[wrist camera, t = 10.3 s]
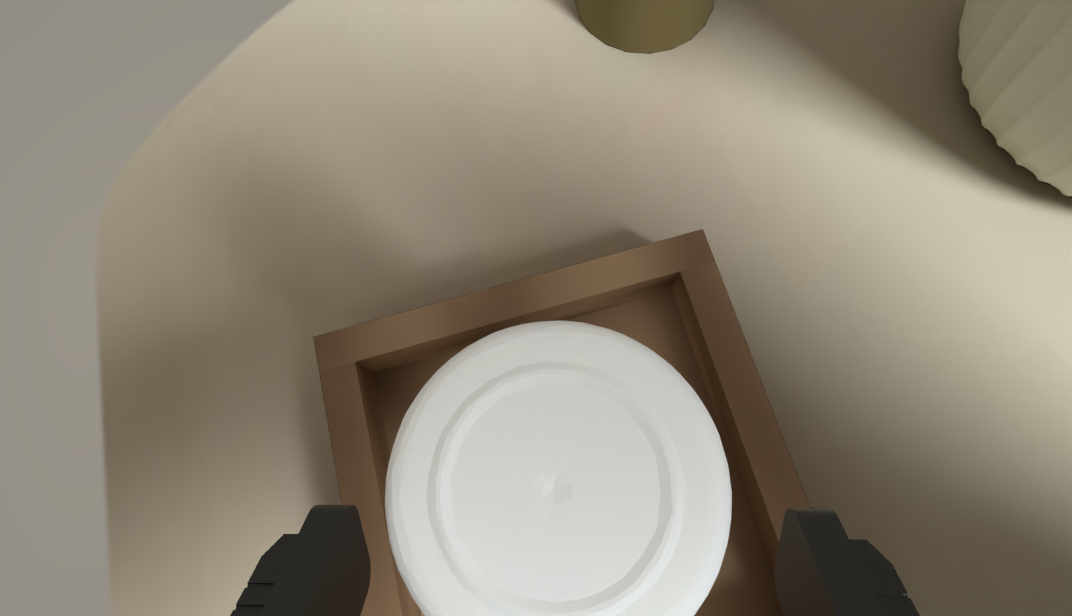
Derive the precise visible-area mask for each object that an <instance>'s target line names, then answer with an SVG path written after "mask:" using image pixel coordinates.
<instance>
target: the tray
mask: <svg viewBox="0 0 1072 616" xmlns="http://www.w3.org/2000/svg"><path fill="white" fill-rule="evenodd" d="M559 320H561V321H573V322H583V323H587V324H591V325H595V326H599V327H603V328H607V329H611V330H613V331H616V332H619V333H621V334H624V335H626V336H628V337H630V338H632V339H634V340H636V341H637V342H639V343H641V344H643V345H644V346H646V347H648V348H649V349H651V350H652V351H653V352H655V353H656V354H658V355H659V356H660V357H662V358H663V359H664V360H666V361H667V362H668V363H669V364H671V365H672V366H673V367H674V368H675V369H676V370H677V371H678V372H679V373H680V374H681V376H682V377H683V378H684V379H685V380H686V381H687V382H688V384H689V385H690V386H691V387H692V388H693V389H694V391H695V392H696V393H697V395H698V396H699V398H700V399H701V401H702V403H703V404H704V406H705V407H706V409H707V411H708V412H709V414H710V416H711V418H712V420H713V422H714V424H715V426H716V428H717V431H718V433H719V435H720V439H721V442H722V446H723V449H724V453H725V456H726V459H727V463H728V467H729V475H730V482H731V490H732V508H731V523H730V531H729V538H728V543H727V547H726V550H725V554H724V558H723V561H722V564H721V567H720V570H719V573H718V575H717V577H716V580H715V582H714V584H713V586H712V588H711V590H710V592H709V594H708V596H707V597H706V599H705V600H704V602H703V603H702V605H701V606H700V608H699V609H698V611H697V612H696V614H695V615H694V616H783V613H782V610H781V607H780V604H779V601H778V597H777V592H776V586H775V576H774V569H775V561H776V556H777V551H778V546H779V540H780V535H781V530H782V525H783V520H784V515H785V512H786V510H787V509H789V508H795V509H810V507H809V504H808V501H807V499H806V496H805V494H804V491H803V488H802V486H801V483H800V481H799V478H798V475H797V473H796V470H795V468H794V465H793V462H792V460H791V457H790V455H789V452H788V449H787V447H786V444H785V442H784V439H783V436H782V434H781V431H780V429H779V426H778V423H777V421H776V418H775V416H774V413H773V410H772V408H771V405H770V403H769V400H768V397H767V395H766V392H765V390H764V387H763V384H762V382H761V379H760V377H759V374H758V371H757V369H756V366H755V364H754V361H753V358H752V356H751V353H750V351H749V348H748V346H747V343H746V340H745V338H744V335H743V333H742V330H741V327H740V325H739V322H738V320H737V317H736V314H735V312H734V309H733V307H732V304H731V301H730V299H729V296H728V294H727V291H726V288H725V286H724V283H723V281H722V278H721V275H720V273H719V270H718V268H717V265H716V262H715V260H714V257H713V255H712V252H711V249H710V247H709V244H708V242H707V239H706V236H705V234H704V231H703V229H702V230H698V231H695V232H691V233H687V234H684V235H680V236H677V237H673V238H669V239H666V240H662V241H659V242H655V243H651V244H648V245H644V246H640V247H637V248H633V249H630V250H626V251H622V252H619V253H615V254H612V255H608V256H604V257H601V258H597V259H594V260H590V261H586V262H583V263H579V264H575V265H572V266H568V267H565V268H561V269H557V270H554V271H550V272H547V273H543V274H539V275H536V276H532V277H529V278H525V279H521V280H518V281H514V282H511V283H507V284H503V285H500V286H496V287H492V288H489V289H485V290H482V291H478V292H474V293H471V294H467V295H464V296H460V297H456V298H453V299H449V300H446V301H442V302H438V303H435V304H431V305H427V306H424V307H420V308H417V309H413V310H409V311H406V312H402V313H399V314H395V315H391V316H388V317H384V318H381V319H377V320H373V321H370V322H366V323H363V324H359V325H355V326H352V327H348V328H344V329H341V330H337V331H334V332H330V333H326V334H323V335H319V336H316V337H313V338H314V344H315V350H316V356H317V361H318V367H319V373H320V379H321V385H322V391H323V397H324V403H325V409H326V415H327V421H328V427H329V433H330V439H331V444H332V450H333V456H334V462H335V468H336V474H337V480H338V486H339V492H340V498H341V504H342V505H354V506H356V507H357V509H358V512H359V516H360V520H361V524H362V528H363V532H364V536H365V540H366V544H367V548H368V552H369V557H370V563H371V576H370V584H369V589H368V593H367V597H366V600H365V603H364V606H363V609H362V612H361V615H360V616H425V615H424V614H423V613H422V612H421V610H420V609H419V607H418V606H417V604H416V603H415V601H414V600H413V598H412V597H411V595H410V593H409V591H408V589H407V587H406V585H405V583H404V581H403V579H402V577H401V575H400V573H399V571H398V568H397V565H396V562H395V559H394V556H393V553H392V549H391V545H390V542H389V535H388V528H387V521H386V512H385V488H386V476H387V470H388V464H389V460H390V456H391V452H392V448H393V445H394V442H395V439H396V436H397V433H398V430H399V428H400V426H401V423H402V420H403V418H404V416H405V414H406V412H407V410H408V409H409V407H410V406H411V404H412V403H413V401H414V399H415V398H416V396H417V395H418V393H419V392H420V391H421V389H422V388H423V387H424V385H425V384H426V383H427V382H428V381H429V380H430V378H431V377H432V376H433V375H434V374H435V373H436V371H438V370H439V369H440V368H441V367H442V366H443V365H444V364H445V363H446V362H447V361H449V360H450V359H451V358H452V357H454V356H455V355H456V354H458V353H459V352H460V351H462V350H463V349H464V348H466V347H467V346H469V345H471V344H473V343H475V342H476V341H478V340H480V339H482V338H484V337H486V336H488V335H490V334H492V333H494V332H497V331H500V330H503V329H506V328H509V327H513V326H517V325H521V324H526V323H533V322H541V321H559Z"/></svg>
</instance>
